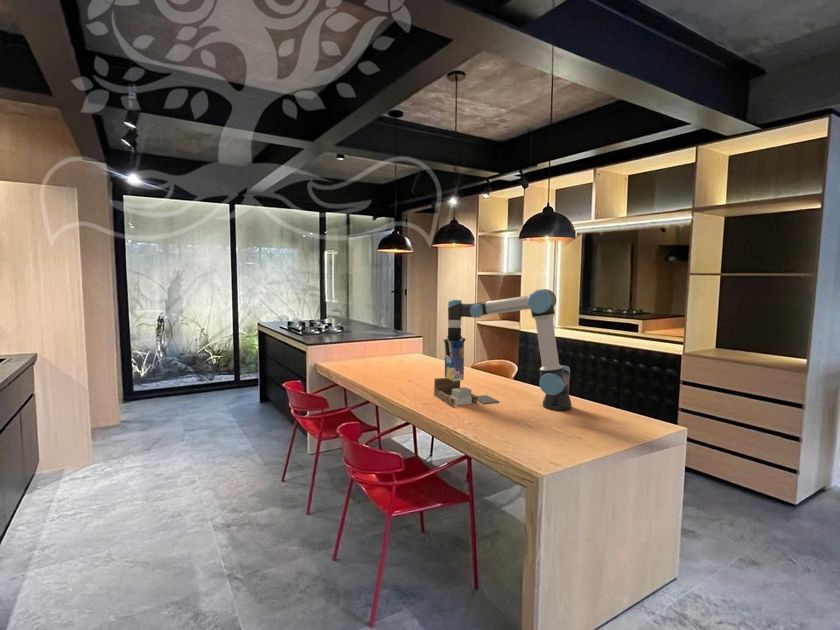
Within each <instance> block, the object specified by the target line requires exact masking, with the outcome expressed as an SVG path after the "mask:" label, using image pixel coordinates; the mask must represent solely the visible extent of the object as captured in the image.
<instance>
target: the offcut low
mask: <svg viewBox="0 0 840 630" xmlns="http://www.w3.org/2000/svg"><path fill="white" fill-rule="evenodd" d="M449 396H450V397H452V398H454V406H463V405H464V406H465V405H472V404H473V403H472V397H466V398H460V399H458V398H455V397H453V396H452V395H449Z"/></svg>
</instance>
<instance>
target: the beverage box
mask: <svg viewBox="0 0 840 630" xmlns="http://www.w3.org/2000/svg"><path fill="white" fill-rule="evenodd" d="M448 345H449V352H450V356H447V355H446V350H445V349H444V378H448V379H450V380H452V381H457V380H460V381H464V380H465V379H464V377H465V375H464V372H465V370H464V369H465V368H464V367H465V358H464V357H465V342H464V341H461V339H460V340H459V341H449V340H448Z"/></svg>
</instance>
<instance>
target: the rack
mask: <svg viewBox="0 0 840 630" xmlns="http://www.w3.org/2000/svg"><path fill="white" fill-rule="evenodd" d="M433 388H434V392H433V393H434V397H436V398H438V399H439V400H441V401H442V402H444V403H445V404H447V405H449V407H454V406H455V405H454V398H452V397H450V395H452V389H456V388H462V387H461V380H457V381H452V380H450V379H448V378H446V377H438V378H437V377H436V378H435V377H434V385H433ZM477 396H478V395H475V394H473V393H472V392H471V397H472V404H474V405H477V404H478V402H479V401H478V397H477Z"/></svg>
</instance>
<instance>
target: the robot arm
mask: <svg viewBox="0 0 840 630" xmlns="http://www.w3.org/2000/svg"><path fill="white" fill-rule="evenodd" d="M556 304H557V296H556V294H555V293H554V292H553V291H552V290H550V289H547V288H546V289H544V288H543V289H542V288H541V289H536V290H534V291H533V292H531V293H530V294H528V295H523V296H516V297H509V298H503V299H496V300H488V301H483V302H482V301H481V302H475V303H462V300H461V299H450V300H448V305H447V337H445V338H443V340H442V341H443V343H444V351H445V350H446V355H447V356H450V352H449V345H448V340H449V341H459V340H461V341H464V343H465V341H466V338H464V337H462V318H473V319H475V318H481V317H482V316H487V315H494V314H503V313H510V312H518V311H526V310H530V313H531V318H532V319H534V320H535V326H536V332H537V341H538V346H539V354H540V355H539V356H540V360H541V366H540V368H539V374H540V378H539V382H538V383H539V384H538V385H539V388H540V389H541V390H540V391H542V392H543V393H544V394H545V395H544V398H543V400H542V406H543V408H545V409H547V410H552V411H560V412H561V411H564V412H565V411H570V410H571V409H572V405H573V404H572V401H571V397H570V394H569V393H570V376H571V375H570V374H571V368H570V367H569V366H568V365H567V366H566V365H561V364H560V362H559V361H560V360H559V353H558V348H557V342H556V333H555V328H554V320H553V317H554V316H555V315H556V311H555V306H556Z"/></svg>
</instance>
